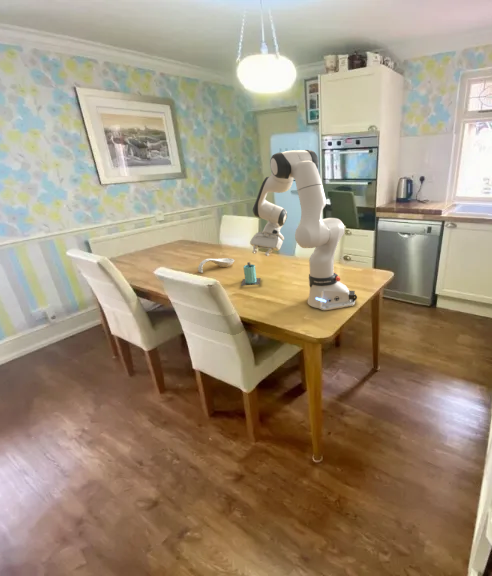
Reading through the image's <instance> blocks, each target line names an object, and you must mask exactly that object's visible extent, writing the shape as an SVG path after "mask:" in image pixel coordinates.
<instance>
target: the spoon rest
mask: <svg viewBox="0 0 492 576" xmlns="http://www.w3.org/2000/svg"><path fill="white" fill-rule="evenodd" d="M208 262H211V263H214V264H216V265H217V266H218V267H220V268H229V267H230V266H232V265H233V264H234V263H235V259H234V258H229V257H224V258H205V259H203V260H202V261H200V263H199V265H198V267H197V272H199V273H200V274H203V273H204V272H203V267H204V265H205V264H206V263H208Z"/></svg>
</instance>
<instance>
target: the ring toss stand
mask: <svg viewBox="0 0 492 576" xmlns="http://www.w3.org/2000/svg"><path fill="white" fill-rule="evenodd" d="M251 264H252V263H251V262H250V261H249V262H247V264H246V265H248V268H250V267H251ZM256 279H257V282H255V283H251V284H248V283H246V282H245V278H242V280H241V284H240V286H256V285H258V286H259V285H261V279H262V278H261V277H256Z"/></svg>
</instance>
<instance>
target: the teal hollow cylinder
mask: <svg viewBox="0 0 492 576" xmlns="http://www.w3.org/2000/svg"><path fill="white" fill-rule="evenodd" d="M250 264H251V267H250V268H248V264H245V265H243V273H244V279H245V282H246V283H248V284H251V283H255V282H257V279H256V278H257V271H256V265H255V264H252V263H250Z"/></svg>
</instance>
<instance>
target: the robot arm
mask: <svg viewBox="0 0 492 576" xmlns="http://www.w3.org/2000/svg"><path fill="white" fill-rule="evenodd" d="M319 164H320V162H319V157H318V155H317V153H316V152H315V151H313V150H312V149H305V150H304V149H303V150H301V149H299V150H293V149H292V150H287V151H286V150H285V151H282V152H280V151H279V152H276V153H274V154H272V156H271V157H270V161H269V165H270V170H271V172H270V173H271V174H270V176H266V177H265V178H264V180H263V181H262V183H261V186H260V188H259V190H258V194H257V196H256V199H255V202H254V204H253V205H252V213H253V215H254V216H255V217H256V218H259V219H262V220H265V221H267V223H266V224H265V225H264V227H263V230H262V231H258V232H256V233H255V234H254V235H253V236H252V238H251V239H250V241H249V244H250V245H251V247H253V250H252V254H253V255H257V253H258V251H257V249H258V248H259V249H266V250H267V251H265V253H264V256H266V257H269V256H270V254H271V253H273V251H277V252H278V251H280V249H281V248H282V245H283V243H284V241H285V237H284V235H283V234H282V233H281V229H282V228H283V226H284V225H285V223H286V221H287V219H288V212H287V210H286V209H285V208H283V207H282V206H280V205H277V204H275V203H273V202H270V201H268V200H267V199H266V198H267V196H268V193H276V194H283V193H286V192H287V191H289V190H291V188H292V186H293V184H294V181H295V185H296V190H297V195H298V199H299V205H300V211H301V213H300V221H299V224H298V226H297V227H296V229H295V232H294V238H295V241H296V243H297V245H298V246H299V247H301V248H302V249H314V250H313V252H312V253H311V254H310V256H309V258H308V259H309V260H308V262H309V266H308V267H309V273H308V286H309V293H308V298H307V305H309V306H310V307H312V308H314V309H319V310H321V311H330V310H331V311H332V310H335V309H337V310H338V309H342V308H349V307H353V306H355V304H356V300H357V299H358V296H357V294H356V292H355V291H356V290H349V287H347V285H346V284H344V283H343V282H341V277H340V276H339V275H338V274H337V273H336V272H335V268H334V267H335V254H336V251H337V248H338V245H339V243H340V240H341V239H342V237H343V236H344V234H345V225H344V223H343V221H342V220H341V219H339V218H337V217H325V218H323V210H324V208H325V207H326V206H327V199H326V194H325V191H324V185H323V182H322V177H321V175H320V172H319V170H318V169H319Z"/></svg>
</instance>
